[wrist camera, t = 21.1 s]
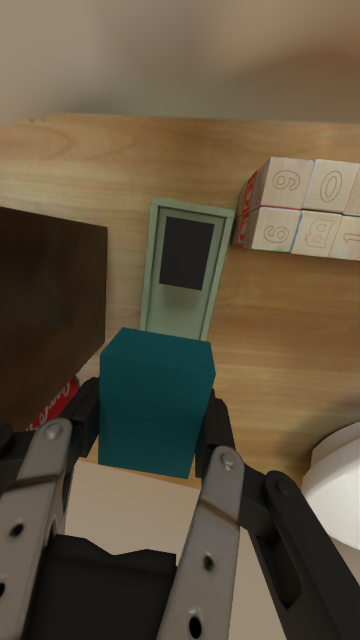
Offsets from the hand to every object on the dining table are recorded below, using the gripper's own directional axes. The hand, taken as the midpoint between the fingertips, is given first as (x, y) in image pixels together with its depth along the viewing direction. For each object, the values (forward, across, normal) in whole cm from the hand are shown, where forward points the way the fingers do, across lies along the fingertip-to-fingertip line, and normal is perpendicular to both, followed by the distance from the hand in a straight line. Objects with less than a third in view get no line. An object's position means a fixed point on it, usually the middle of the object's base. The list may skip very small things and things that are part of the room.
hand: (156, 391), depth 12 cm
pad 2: (+16, 0, -7) cm, 18 cm away
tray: (+17, 0, -4) cm, 17 cm away
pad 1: (+1, 0, 0) cm, 1 cm away
